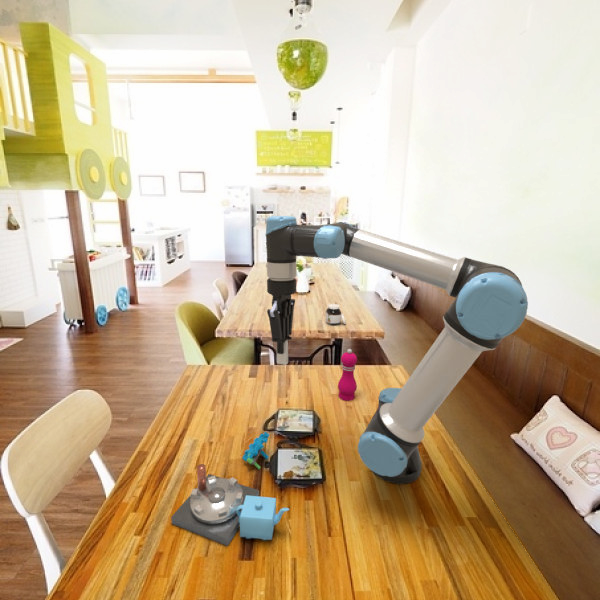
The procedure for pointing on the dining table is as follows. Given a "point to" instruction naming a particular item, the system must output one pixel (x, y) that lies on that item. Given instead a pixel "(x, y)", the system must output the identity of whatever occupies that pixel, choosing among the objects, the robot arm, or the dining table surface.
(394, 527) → the dining table surface
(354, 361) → the pepper mill
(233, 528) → the base plate
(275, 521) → the teapot
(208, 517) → the grey rounded piece
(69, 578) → the dining table surface
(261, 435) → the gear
